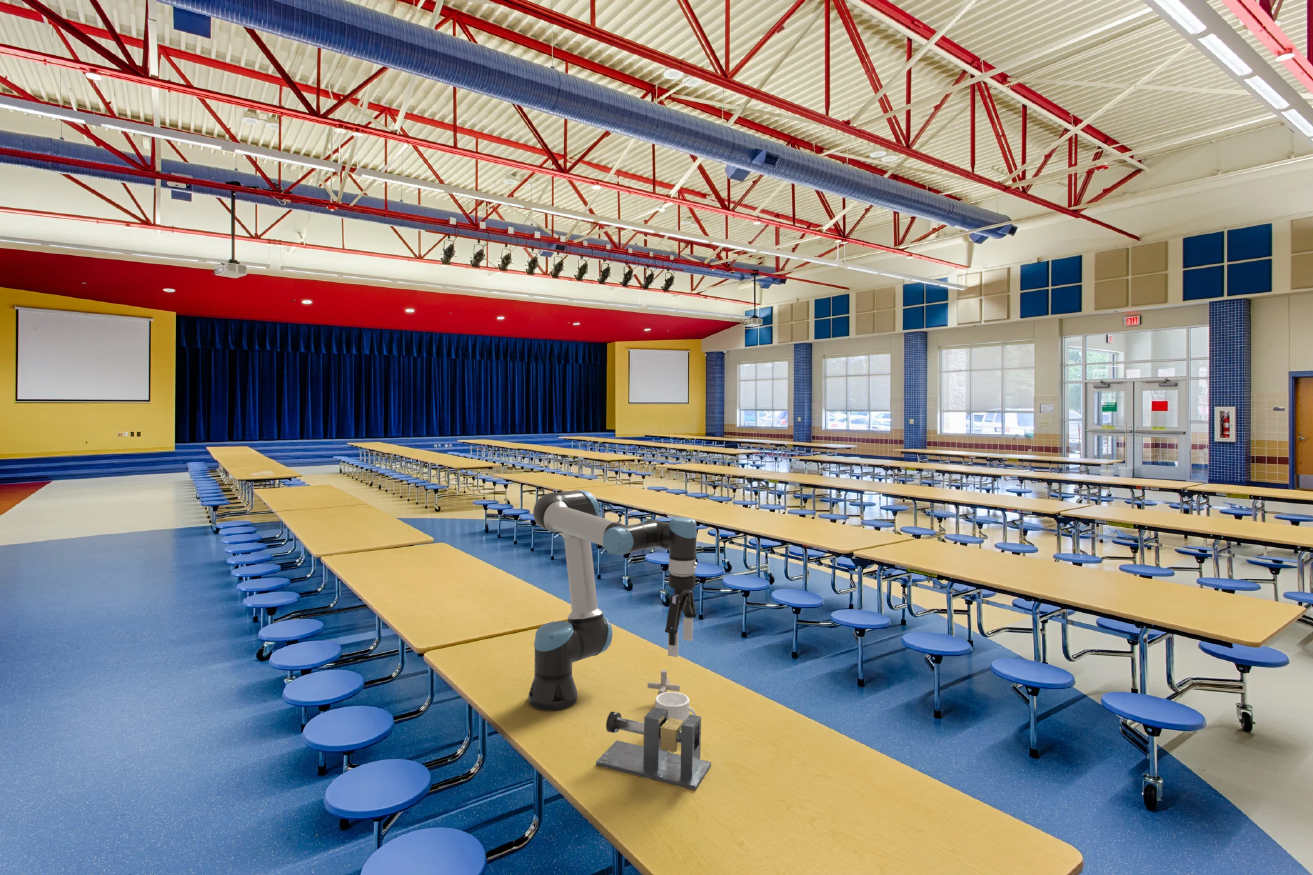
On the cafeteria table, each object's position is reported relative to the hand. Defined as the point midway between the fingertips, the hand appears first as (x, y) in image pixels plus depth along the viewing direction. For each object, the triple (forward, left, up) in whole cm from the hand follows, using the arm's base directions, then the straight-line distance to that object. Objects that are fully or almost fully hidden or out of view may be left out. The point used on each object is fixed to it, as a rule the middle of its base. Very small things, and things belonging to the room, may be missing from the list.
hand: (680, 647), depth 185 cm
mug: (-1, +1, -24) cm, 24 cm away
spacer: (+5, -19, -18) cm, 27 cm away
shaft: (-1, -19, -18) cm, 26 cm away
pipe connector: (-11, +16, -24) cm, 31 cm away
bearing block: (+1, -19, -24) cm, 31 cm away
